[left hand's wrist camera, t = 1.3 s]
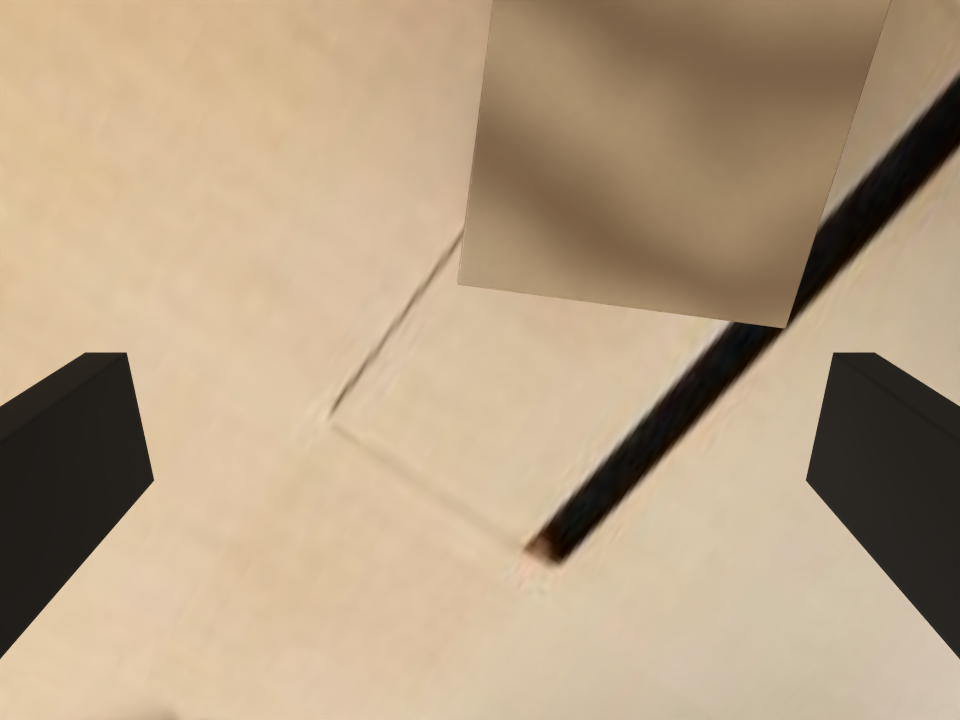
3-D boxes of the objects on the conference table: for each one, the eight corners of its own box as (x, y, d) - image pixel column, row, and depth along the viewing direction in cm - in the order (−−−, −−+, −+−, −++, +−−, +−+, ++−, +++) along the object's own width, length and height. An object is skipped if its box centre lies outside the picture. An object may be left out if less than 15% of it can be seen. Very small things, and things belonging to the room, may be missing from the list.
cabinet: (522, -227, 24) (546, -417, 16) (816, -176, 25) (998, -331, 16) (463, 234, 31) (457, 284, 22) (699, 266, 31) (785, 328, 22)
